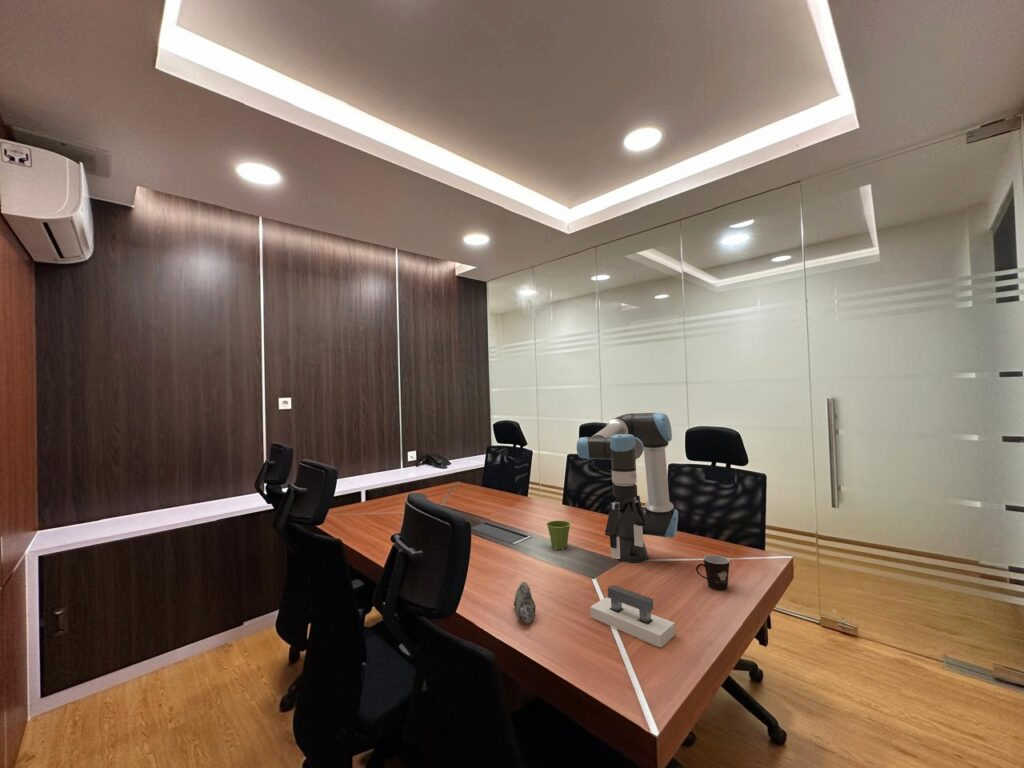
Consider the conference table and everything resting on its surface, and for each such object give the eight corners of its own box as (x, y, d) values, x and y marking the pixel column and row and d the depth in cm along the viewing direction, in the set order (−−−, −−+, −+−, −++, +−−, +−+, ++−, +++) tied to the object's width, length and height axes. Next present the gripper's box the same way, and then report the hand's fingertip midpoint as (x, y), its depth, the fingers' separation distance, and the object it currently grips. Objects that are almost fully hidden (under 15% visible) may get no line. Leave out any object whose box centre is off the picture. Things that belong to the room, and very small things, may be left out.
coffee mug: (728, 583, 155) (727, 556, 155) (732, 593, 146) (731, 564, 147) (695, 579, 158) (693, 553, 159) (697, 589, 150) (695, 561, 151)
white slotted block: (590, 617, 134) (590, 606, 134) (606, 607, 140) (606, 596, 140) (660, 648, 116) (660, 635, 116) (675, 634, 122) (674, 622, 123)
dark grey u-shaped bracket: (609, 619, 132) (607, 587, 133) (614, 616, 134) (613, 584, 135) (649, 636, 122) (648, 602, 122) (654, 632, 124) (652, 598, 124)
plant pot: (575, 545, 200) (574, 521, 201) (565, 553, 190) (564, 528, 191) (554, 541, 207) (553, 518, 207) (542, 549, 197) (541, 525, 197)
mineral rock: (528, 629, 128) (527, 597, 128) (498, 622, 133) (497, 590, 134) (545, 610, 139) (544, 580, 140) (517, 604, 145) (516, 575, 145)
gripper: (612, 492, 119) (616, 567, 118) (654, 478, 136) (658, 543, 135) (591, 488, 124) (594, 560, 123) (634, 476, 141) (637, 538, 140)
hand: (627, 551), depth 129 cm, fingers open, 13 cm apart
